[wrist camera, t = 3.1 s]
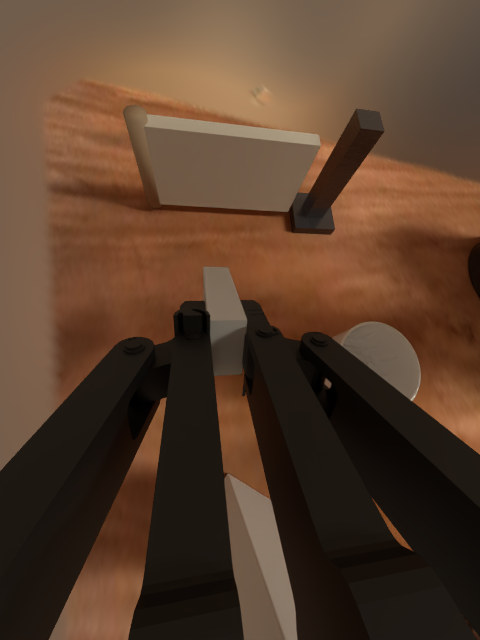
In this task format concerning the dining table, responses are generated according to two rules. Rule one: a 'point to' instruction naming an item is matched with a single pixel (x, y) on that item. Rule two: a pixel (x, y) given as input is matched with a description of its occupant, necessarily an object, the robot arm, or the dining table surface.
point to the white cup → (384, 354)
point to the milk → (259, 565)
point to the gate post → (336, 174)
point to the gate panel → (218, 162)
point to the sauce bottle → (479, 639)
